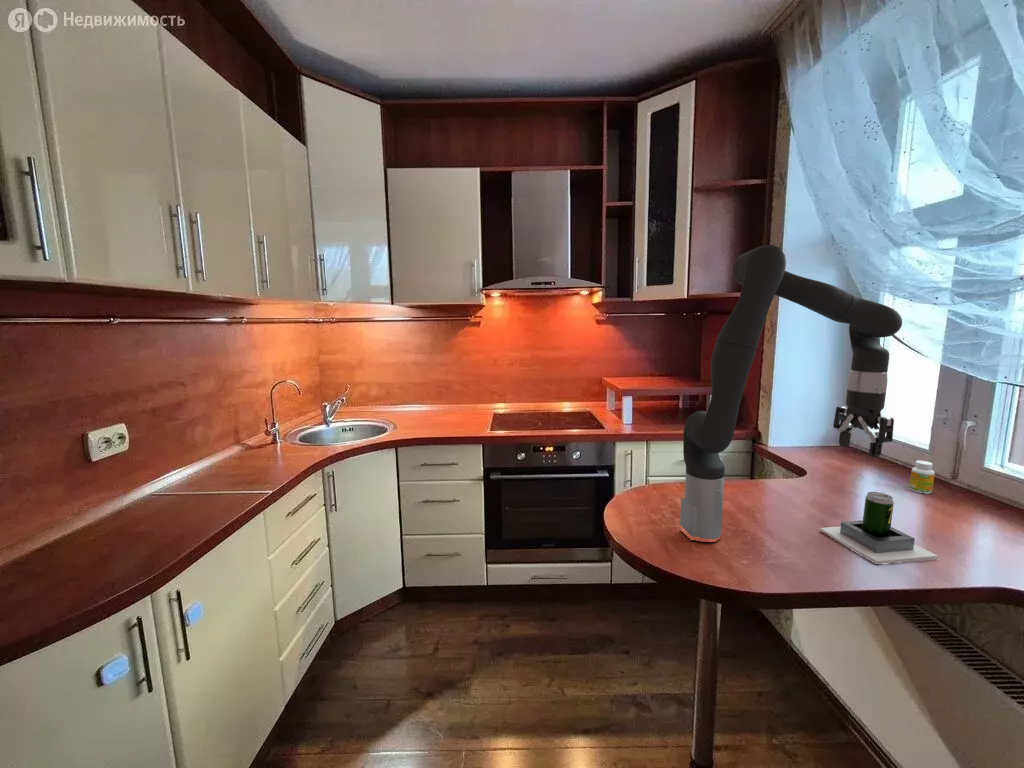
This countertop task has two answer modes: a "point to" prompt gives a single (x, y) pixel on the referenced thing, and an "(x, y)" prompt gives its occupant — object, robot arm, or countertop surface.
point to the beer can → (877, 514)
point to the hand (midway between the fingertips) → (858, 451)
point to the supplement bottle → (922, 477)
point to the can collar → (877, 545)
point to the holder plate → (881, 558)
